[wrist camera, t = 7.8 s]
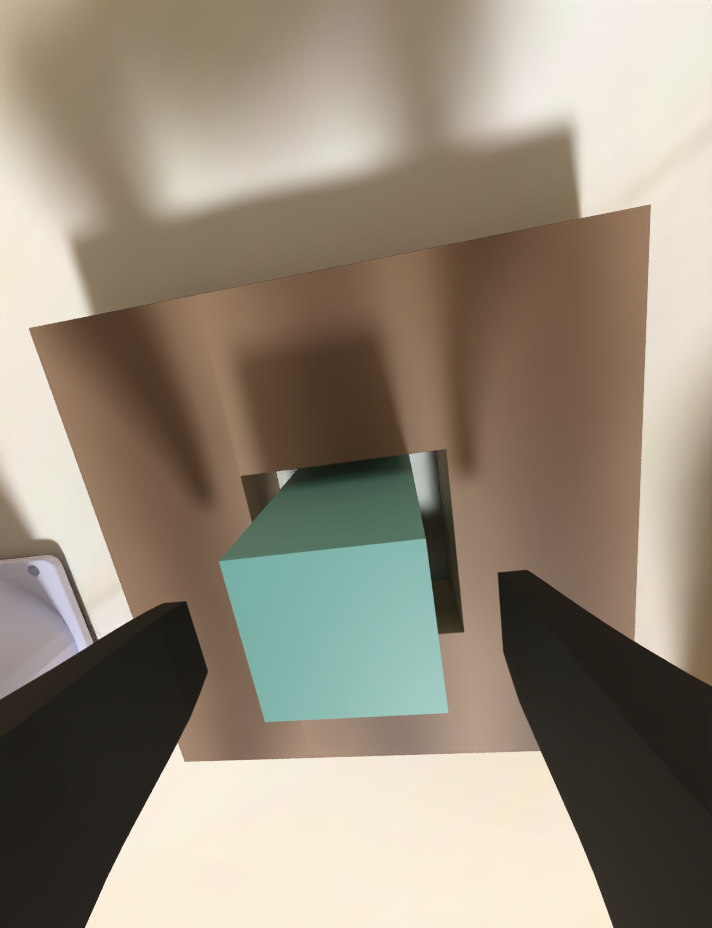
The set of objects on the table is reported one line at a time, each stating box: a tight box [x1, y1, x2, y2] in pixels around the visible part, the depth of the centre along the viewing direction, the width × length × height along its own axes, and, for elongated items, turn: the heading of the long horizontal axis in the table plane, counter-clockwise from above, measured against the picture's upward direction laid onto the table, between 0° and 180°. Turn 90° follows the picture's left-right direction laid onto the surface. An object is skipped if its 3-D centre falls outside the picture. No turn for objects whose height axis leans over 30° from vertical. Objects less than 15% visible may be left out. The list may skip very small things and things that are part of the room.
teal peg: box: [219, 454, 448, 722], centre depth 11 cm, size 4×4×7 cm
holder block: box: [29, 205, 651, 762], centre depth 13 cm, size 16×16×3 cm
